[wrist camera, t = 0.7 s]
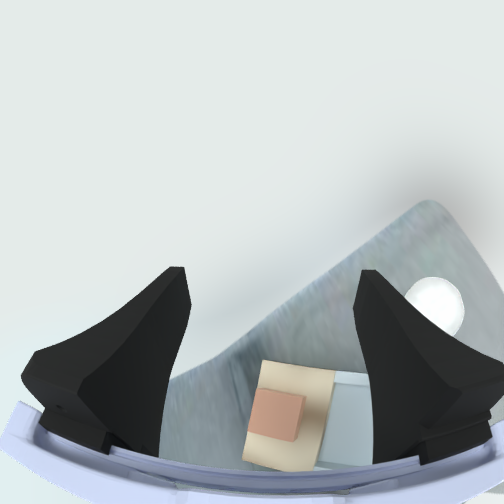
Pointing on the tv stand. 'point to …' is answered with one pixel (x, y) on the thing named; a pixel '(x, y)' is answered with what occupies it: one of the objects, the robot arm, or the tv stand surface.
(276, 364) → the beige wooden block
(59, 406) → the robot arm
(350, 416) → the box
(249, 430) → the tile
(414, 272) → the tv stand surface
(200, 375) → the tv stand surface
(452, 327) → the milkshake
